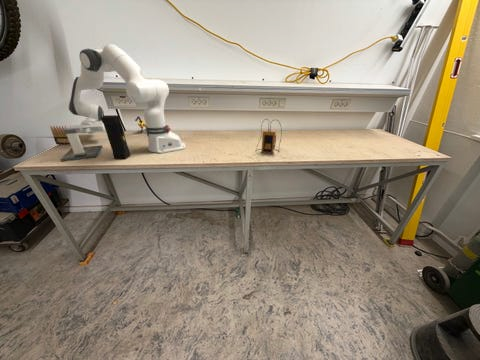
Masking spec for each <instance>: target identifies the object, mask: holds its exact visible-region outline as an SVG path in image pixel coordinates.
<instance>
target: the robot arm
mask: <svg viewBox="0 0 480 360" xmlns="http://www.w3.org/2000/svg"><path fill="white" fill-rule="evenodd" d="M79 60H80V75H79V76H77V77H75V78H74V80H73V84H72V88H71V89H72V90H71V94H70V99H69V100H70V101H69V103H68V110H69V112H70V113H71V114H72V115H74V116H80V117H85V118H86V119H84V120H83V121H81V123H80V124H79V125H78V124H77V125H76V124H75V125H70V126H68V127H67V126H66V129H69V128H77V131H78V132H77V134H91V135H92V134H94V133H98V132H106V130H105V127H104V124H103V123H102V120H101V117H103V114H104V113H105V111H104V109H103V108H102V106H100V105H98V104H95V103H90V102H87V101H83V100H82V99H80V98H81V92H82V91H85V90H86V91H87V90H88V91H89V90H92V91H93V90H98V89H100V88H102V86H103V85H104V82H105V81H104V80H105V78H104V77H105V75H104V74H105V73H111V72H116V74H118V75H119V76H120V77H121V79H123V80H124V81H125V83H126V85H125V92H126V95H127V97H128V98H129V99H130V100H131V101H132V102H135V103H146V108H145V109H144V111H143V118H144V121H145V124H146V127H145V129H146V131H145V134H146V133H147V134H146V137H147V140H148V147H147V148H148V149H147V150H148V152H152V153H158V154H164V153H165V154H166V153H171V152H176V151H181V150H185V149H186V143H185V142H183V141H182V140H181V137H180V136H179V135H178V134H176V133H174V132H172V131H171V130H172V128H171V126H170V125H168V124H166V118H165V117H166V116H165V104H166V99H167V97H168V96H169V94H170V89H169V86H168V84H167V82H165V81H164V80H161V79H158V78H149V79H148V78H145V77H143V75H142V68H141V67H140V66H139V64H138V63H137V62H136V61H135V60H134V59H132V57H131V56H130V55H128V54H127V52H125V50H123V49H122V48H120V47H119V46H117V45H116V44H112V43H109V44H108V43H107V44H106V45H104V46H103V49H102V48H91V49H90V48H84V49H82V50H81V51H79ZM101 111H103V114H102V112H101ZM104 115H105V114H104Z"/></svg>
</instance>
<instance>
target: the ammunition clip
mask: <svg viewBox="0 0 480 360" xmlns="http://www.w3.org/2000/svg"><path fill="white" fill-rule="evenodd" d="M49 127H50V128H49V129H50V131H51V134H52V136H53V140H54V142H55V144H56V145H59V146H61V144H62V145H68V146H69V145H70V146H71V144H70V142H69V140H68V137H67V135H66V134H64V131H63V130H64V129H66V128H67V126H66V125H64V126H63V125H61V126H60V125H59V126H58V125H56V126H55V125H53V126H52V125H49Z"/></svg>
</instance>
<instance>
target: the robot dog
mask: <svg viewBox="0 0 480 360" xmlns="http://www.w3.org/2000/svg"><path fill="white" fill-rule="evenodd" d="M134 121H135V122H137V121H139V122H138V123H137V126H138V127H139V128H140V134H141V133H143V129H144V128H145V129H144V131H145V132H146V124H145V120H142V119H141V118H140V116H139V115H138V116H137V117H136V118H135V119H134Z"/></svg>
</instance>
